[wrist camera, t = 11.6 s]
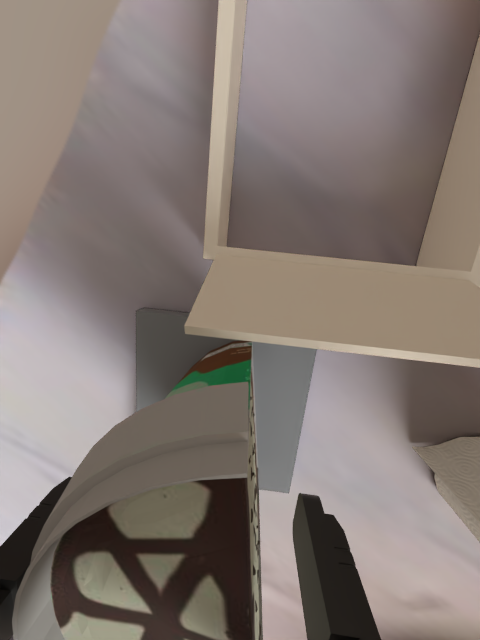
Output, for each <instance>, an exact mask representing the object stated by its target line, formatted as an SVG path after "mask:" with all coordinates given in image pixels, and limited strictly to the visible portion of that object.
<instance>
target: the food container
mask: <svg viewBox="0 0 480 640" xmlns="http://www.w3.org/2000/svg"><path fill="white" fill-rule="evenodd" d="M12 627H13V638H14V640H263V631H262V594H261V556H260V519H259V481H258V454H257V432H256V410H255V388H254V366H253V345H252V341H243V340H240V341H233V342H230V343H228V344H225V345H223V346H220V347H218V348H216V349H213V350H211V351H209V352H208V353H207V354H206V355H205V356H204V357H202V358H201V359H200V360H199V361H198V362H197V363H195V364H194V365H193V366H192V367H191V368H190V370H189V371H188V372H187V373H186V374H185V375H184V377H183V378H182V379H181V380H180V381H179V382H178V384H177V385H176V386H175V387H174V388H173V389H172V391H171V392H170V393H169V394H168V395H167V396H166V398H165V399H163V400H161V401H159V402H156V403H154V404H151V405H149V406H147V407H144V408H142V409H141V410H139V411H137V412H136V413H134V414H133V415H131V416H130V417H128V418H126V419H125V420H123V421H122V422H120V423H119V424H117V425H115V426H114V427H113V428H112V429H111V430H110V431H109V432H108V433H107V434H106V435H105V436H104V437H103V438H101V439H100V440H99V441H98V442H97V443H96V444H95V445H94V446H93V447H92V449H91V450H90V451H89V453H88V454H87V456H86V457H85V458H84V460H83V461H82V463H81V464H80V465H79V467H78V468H77V470H76V472H75V473H74V475H73V477H72V478H71V480H70V482H69V483H68V485H67V487H66V489H65V490H64V492H63V494H62V495H61V497H60V499H59V500H58V502H57V504H56V506H55V507H54V509H53V511H52V512H51V514H50V516H49V517H48V519H47V521H46V523H45V524H44V526H43V528H42V531H41V533H40V535H39V538H38V540H37V542H36V544H35V547H34V549H33V552H32V557H31V563H30V565H29V567H28V568H27V570H26V573H25V575H24V577H23V580H22V582H21V584H20V587H19V589H18V591H17V594H16V598H15V604H14V611H13V617H12Z"/></svg>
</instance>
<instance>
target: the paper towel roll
mask: <svg viewBox="0 0 480 640" xmlns="http://www.w3.org/2000/svg"><path fill="white" fill-rule="evenodd" d="M412 448H413V449H414V450H415V451H416V452H417V454H418V455H419V456H420V457H421V458H422V459H423V460H424V462H425V463H426V464H427V465H428V466H429V467H430V468H431V470H432V471H433V472H434V473H435V475H434V478H435V482H436V486H437V489H438V492H439V493H440V495H441V496H442V497H443V498H444V499H445V501H446V502H447V503H448V504H449V506H450V507H451V508H452V509H453V510H454V512H455V513H456V514H457V515H458V516H459V518H460V519H461V520H462V521H463V523H464V524H465V525H466V526H467V527H468V529H469V530H470V531H471V532H472V534H473V535H474V536H475V537H476V538H477V540H478V541H479V542H480V437H459V438H456V439H453V440H450V441H447V442H444V443H441V444H438V445H433V446H427V447H412Z"/></svg>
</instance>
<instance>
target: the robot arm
mask: <svg viewBox="0 0 480 640" xmlns="http://www.w3.org/2000/svg"><path fill="white" fill-rule="evenodd" d="M71 478H72V477H68V478H67V479H66V480H64V481H63V482H61V483H60V484H59V485H57V486H56V487H54V488H53V489H52V490H51V491H50V492H49V494H48V495H47V496H46V497H45V498H44V499H43V500H42V501H41V502H40V505H39V506H37V507H36V508H35V509H34V510H33V511H32V512H31V513H30V514H29V516H28V518H27V519H25V520H24V521H23V522H22V523H21V524H20V526H19V527H18V528H17V529H16V530H15V531H14V532H13V533H12V534H11V535H10V537H9V538H8V539H7V540H6V541H5V542H4V543H3V544H2V545H1V546H0V640H9V639H10V638H11V637H12V635H13V627H12V617H13V611H14V604H15V598H16V594H17V591H18V589H19V587H20V584H21V582H22V580H23V577H24V575H25V573H26V570H27V568H28V567H29V565H30V563H31V557H32V552H33V549H34V547H35V544H36V542H37V540H38V538H39V535H40V533H41V531H42V528H43V526H44V524H45V523H46V521H47V519H48V517H49V516H50V514H51V512H52V511H53V509H54V507H55V506H56V504H57V502H58V500H59V499H60V497H61V495H62V494H63V492H64V490H65V489H66V487H67V485H68V483H69V482H70V480H71ZM293 542H294V549H295V556H296V563H297V570H298V577H299V584H300V591H301V598H302V605H303V612H304V619H305V626H306V633H307V640H381V638H380V635H379V633H378V630H377V627H376V624H375V621H374V618H373V615H372V612H371V609H370V606H369V603H368V600H367V597H366V594H365V591H364V589H363V586H362V583H361V580H360V577H359V574H358V571H357V569H356V567H355V562H354V559H353V556H352V553H351V552H350V547H349V544H348V542H347V539H346V536H345V533H344V530H343V529H342V527H341V526H340V524H339V523H338V521H337V520H336V518H335V517H334V515H330V514H324V511H323V507H322V504H321V500H320V498H319V496H316V495H309V494H301V493H299V495H298V500H297V505H296V510H295V515H294V519H293Z"/></svg>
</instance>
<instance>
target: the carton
mask: <svg viewBox="0 0 480 640" xmlns="http://www.w3.org/2000/svg"><path fill="white" fill-rule="evenodd" d="M246 9H247V0H219V5H218V21H217V37H216V54H215V70H214V86H213V103H212V119H211V136H210V152H209V168H208V185H207V201H206V217H205V234H204V250H203V258H204V259H210V260H214V261H213V263H212V265H211V267H210V269H209V272H208V274H207V276H206V278H205V281H204V283H203V285H202V287H201V289H200V292H199V294H198V296H197V298H196V301H195V303H194V305H193V307H192V310H191V312H190V314H189V316H188V318H187V321H186V323H185V325H184V328H185V334H191V335H200V336H208V337H217V338H226V339H235V340H243V341H252V342H261V343H269V344H278V345H287V346H295V347H304V348H313V349H322V350H330V351H339V352H348V353H356V354H365V355H374V356H382V357H391V358H400V359H409V360H417V361H426V362H435V363H443V364H452V365H461V366H469V367H478V368H480V288H479V287H480V34H479V38H478V42H477V45H476V49H475V53H474V56H473V60H472V64H471V67H470V71H469V74H468V78H467V82H466V85H465V89H464V93H463V96H462V100H461V103H460V107H459V111H458V114H457V118H456V122H455V125H454V129H453V132H452V136H451V140H450V143H449V147H448V151H447V154H446V158H445V162H444V165H443V169H442V172H441V176H440V180H439V183H438V187H437V191H436V194H435V198H434V201H433V205H432V209H431V212H430V216H429V220H428V223H427V227H426V231H425V234H424V238H423V241H422V245H421V249H420V252H419V256H418V260H417V263H416V266H409V265H399V264H389V263H380V262H370V261H360V260H350V259H341V258H331V257H321V256H311V255H301V254H292V253H282V252H272V251H262V250H252V249H243V248H233V247H227V236H228V224H229V212H230V200H231V188H232V176H233V164H234V152H235V141H236V129H237V117H238V105H239V93H240V81H241V69H242V57H243V45H244V33H245V21H246Z"/></svg>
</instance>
